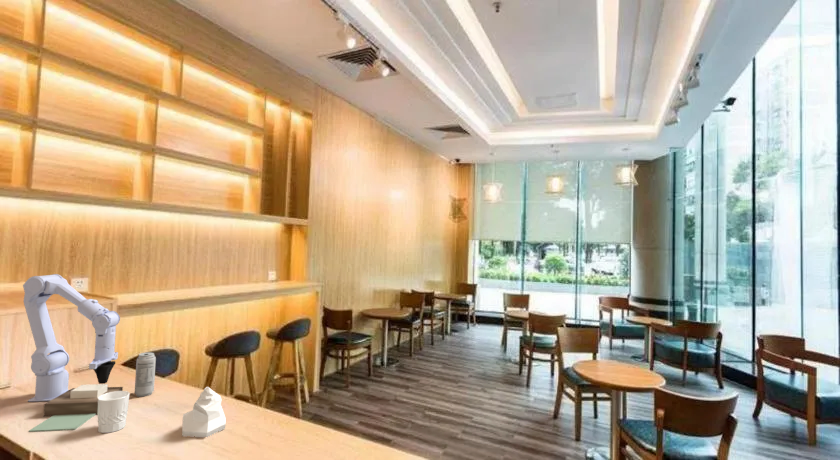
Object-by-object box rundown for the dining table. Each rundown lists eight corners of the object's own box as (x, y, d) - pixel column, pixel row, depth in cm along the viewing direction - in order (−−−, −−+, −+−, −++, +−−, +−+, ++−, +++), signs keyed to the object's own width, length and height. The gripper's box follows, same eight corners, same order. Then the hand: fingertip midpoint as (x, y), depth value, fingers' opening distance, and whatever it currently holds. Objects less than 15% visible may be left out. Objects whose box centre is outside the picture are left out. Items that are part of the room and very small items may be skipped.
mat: (53, 416, 130) (53, 415, 130) (95, 414, 133) (95, 413, 133) (28, 432, 120) (28, 430, 120) (74, 429, 122) (74, 428, 122)
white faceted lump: (239, 427, 131) (245, 388, 128) (193, 451, 118) (199, 408, 116) (216, 408, 137) (222, 371, 134) (170, 429, 124) (176, 388, 122)
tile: (81, 391, 141) (81, 384, 141) (107, 391, 143) (107, 384, 143) (70, 398, 135) (70, 391, 135) (97, 397, 137) (97, 390, 137)
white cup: (92, 436, 119) (94, 402, 119) (99, 425, 126) (101, 392, 126) (125, 431, 122) (127, 398, 123) (129, 420, 129) (131, 389, 130)
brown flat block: (71, 399, 144) (72, 388, 144) (122, 397, 147) (122, 386, 147) (43, 416, 130) (44, 404, 130) (99, 414, 133) (100, 402, 133)
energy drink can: (155, 390, 155) (157, 351, 155) (151, 396, 149) (153, 355, 150) (137, 392, 153) (139, 352, 153) (132, 398, 147) (134, 356, 148)
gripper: (106, 350, 141) (103, 389, 140) (127, 340, 155) (125, 376, 155) (83, 351, 139) (80, 390, 139) (106, 340, 154) (104, 376, 153)
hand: (102, 383), depth 147 cm, fingers closed
